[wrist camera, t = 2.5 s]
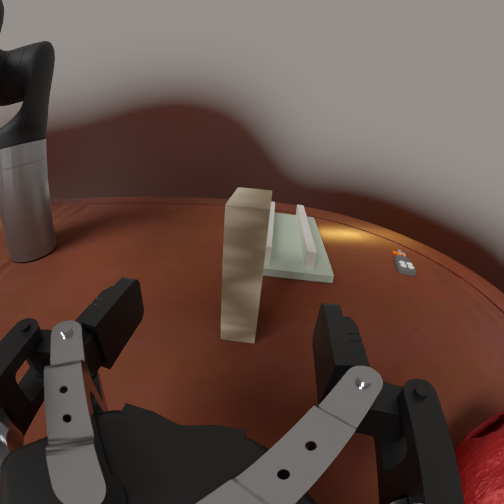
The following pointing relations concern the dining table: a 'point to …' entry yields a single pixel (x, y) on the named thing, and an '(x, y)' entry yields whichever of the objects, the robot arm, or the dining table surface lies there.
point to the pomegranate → (483, 462)
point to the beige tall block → (243, 262)
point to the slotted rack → (295, 248)
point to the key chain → (404, 264)
